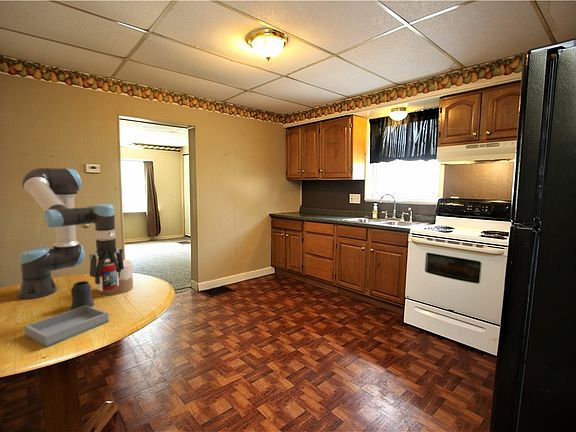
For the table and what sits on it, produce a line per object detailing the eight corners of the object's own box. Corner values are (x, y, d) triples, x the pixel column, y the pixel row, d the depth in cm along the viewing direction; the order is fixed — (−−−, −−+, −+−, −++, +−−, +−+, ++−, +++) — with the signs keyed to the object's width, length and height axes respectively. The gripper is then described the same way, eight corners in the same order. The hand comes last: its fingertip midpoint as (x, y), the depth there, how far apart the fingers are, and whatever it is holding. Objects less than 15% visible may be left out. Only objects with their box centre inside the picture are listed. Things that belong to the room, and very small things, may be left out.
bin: (25, 336, 113) (24, 326, 112) (87, 313, 132) (86, 304, 132) (47, 347, 106) (46, 336, 105) (108, 321, 125) (108, 312, 124)
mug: (94, 307, 138) (92, 284, 137) (70, 312, 133) (68, 288, 132) (93, 298, 148) (92, 277, 147) (71, 302, 143) (69, 280, 142)
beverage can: (109, 292, 133) (107, 266, 131) (96, 290, 134) (94, 265, 132) (120, 286, 139) (119, 262, 138) (107, 285, 141) (106, 260, 139)
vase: (138, 288, 163) (137, 258, 161) (109, 297, 150) (107, 265, 148) (123, 282, 171) (121, 254, 169) (94, 291, 158) (92, 260, 156)
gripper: (87, 243, 123) (90, 296, 126) (131, 236, 140) (133, 282, 144) (77, 241, 126) (80, 293, 130) (121, 234, 144) (123, 279, 147)
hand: (108, 287), depth 137 cm, fingers closed on beverage can, 7 cm apart
